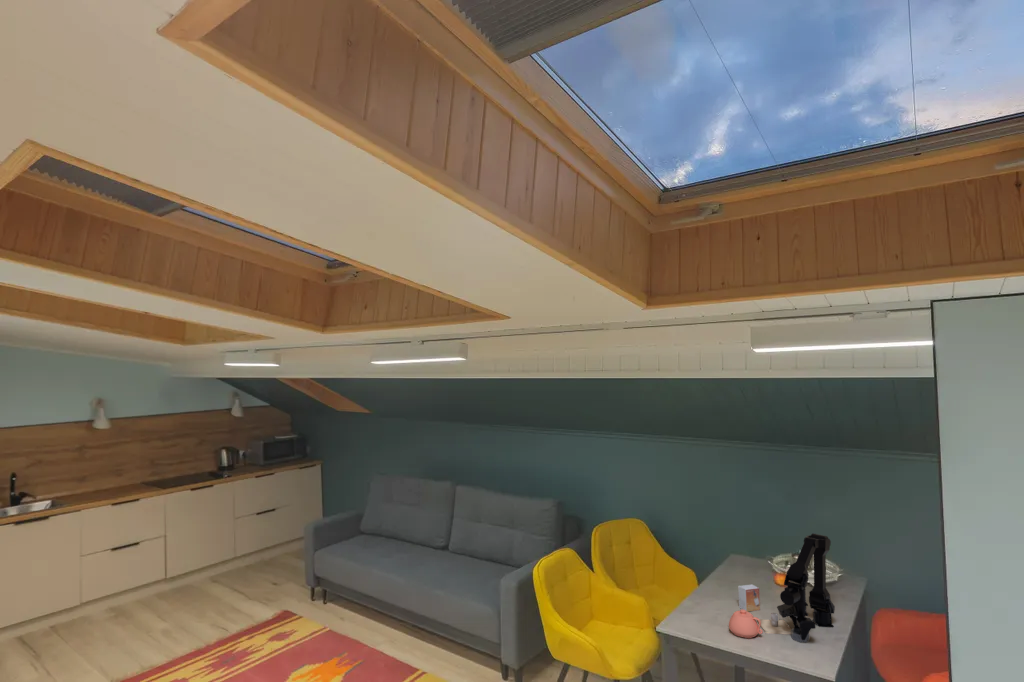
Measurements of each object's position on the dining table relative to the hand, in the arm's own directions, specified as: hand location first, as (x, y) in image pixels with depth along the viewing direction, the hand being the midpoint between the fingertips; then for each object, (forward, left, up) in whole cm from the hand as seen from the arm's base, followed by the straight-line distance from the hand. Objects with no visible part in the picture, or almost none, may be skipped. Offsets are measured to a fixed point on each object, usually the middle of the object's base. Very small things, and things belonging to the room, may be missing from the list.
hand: (800, 636), depth 237 cm
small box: (+12, -30, -1) cm, 32 cm away
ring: (0, 0, -1) cm, 1 cm away
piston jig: (+7, -10, -1) cm, 12 cm away
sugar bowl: (+22, -2, -1) cm, 22 cm away
